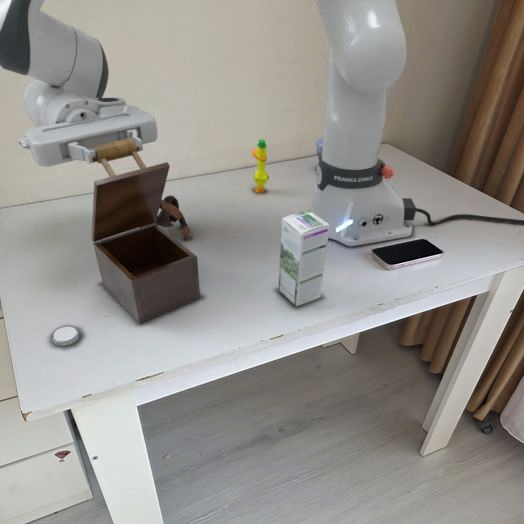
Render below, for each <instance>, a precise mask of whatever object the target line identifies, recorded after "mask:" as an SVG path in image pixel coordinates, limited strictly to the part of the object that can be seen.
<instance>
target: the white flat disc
mask: <svg viewBox="0 0 524 524" xmlns="http://www.w3.org/2000/svg"><path fill="white" fill-rule="evenodd" d="M79 338H80V331H79V329H78V328H77V327H75V326H74V325H73V326H72V325H65V326H64V325H63V326H61V327H58V328H56V329H55V330H54V331H53V332H52V333H51V339H52V342H53V343H54V344H55V345H56V346H69V345H72V344H74V343H76V342H77V341H78V340H79Z"/></svg>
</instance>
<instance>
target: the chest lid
mask: <svg viewBox="0 0 524 524" xmlns="http://www.w3.org/2000/svg"><path fill="white" fill-rule="evenodd" d="M93 149H95V150H96V152H97V157H98V161H97V162H96V163H97V164H101V165H102V166H103V169H104V170H105V172H106V174H107V175H108V177H105V178H101V179H98V180H94V183H93V197H92V199H93V201H92V218H91V219H92V220H91V235H90V236H91V237H90V238H91V241H92V243H95V242H98V241H101V240H104V239H107V238H110V237H113V236H116V235H119V234H122V233H125V232H129V231H132V230H135V229H138V228H139V227H142V226H145V225H148V224H151V223H154V222H156V219H157V216H158V215H159V210H160V203H161V199H162V200H163V196H164V191H165V187H166V183H167V179H168V175H169V171H170V164H169V162H168V161H166V162H162V163H158V164H154V165H151V166H146V163H144V161H143V159H142V158H141V156H140V155H139V152H137V147H136V144H135V142H134V140H133V139H132V138H129V139H124V140H120V141H116V142H111V143H107V144H102V145H98V146H94V147H93ZM128 157H132V158H133V160H134V162H135V163H136V165H137V166H138V167H139V169H135V170H131V171H128V172H127V171H126V172H123V173H120V174H116V173H115V171H114V170H113V168H112V166H111V165H110V164H109V162H113V161H116V160H119V159H120V160H121V159H124V158H128Z"/></svg>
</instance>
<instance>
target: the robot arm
mask: <svg viewBox="0 0 524 524" xmlns="http://www.w3.org/2000/svg"><path fill="white" fill-rule="evenodd" d="M45 1H46V0H0V67H1V69H3V70H6V71H9V72H12V73H15V74H18V75H22V76H27V77H30V78H32V79H34V81H32V82H30V83H29V84H28V85H27V86H25V88H24V91H23V94H22V105H23V107H24V111H25V113H26V115H27V118H28V119H29V120H30V122H31V123H32V124H33V125H34V126H35V127H33V128H29V129H28V130H26V131H25V135H23V136H24V137H19V138H18V141H17V142H18V144H19V146H20V147H22V148H23V149H26V150H29V151H30V154H31V156H32V159H33V160H34V161H35V162H36V164H37V165H39V166H40V167H53V166H56V165H57V166H58V165H61V164H66V163H70V162H73V161H81V162H86V163H87V164H94V163H97V161H98V157H97V152H96V150H95V149H93V147H94V146H98V145H102V144H107V143H111V142H116V141H120V140H124V139H129V138H132V139H133V140H134V142H135V144H136V147H137V153H139V152H143V151H144V146H143V145H146V144H150V143H153V142H156V141H157V140H158V135H159V132H158V124H157V120H156V118H155V117H154V116H153V115H152V114H151V113H148V111H145V110H143V109H141V108H139V107H137V106H134V105H130V104H127V101H126V99H124V98H122V97H104V95H105V93H106V89H107V87H108V86H107V85H108V81H109V73H110V71H109V70H110V69H109V64H108V63H109V62H108V59H107V56H106V53H105V50H104V47H103V46H102V44H101V42H100V41H99V40H98V39H97V38H96V37H94V36H92V35H90V34H88V33H86V32H84V31H82V30H81V29H79V28H76V27H74V26H72V25H69V24H67V23H65V22H63V21H62V20H60V19H57V18H55V16H54V17H53V16H52V15H50V14H48V13H46V12H44V11H42V10H41V9H42V7H43V5H44V3H45ZM315 3H316V6H317V9H318V13H319V15H320V18H321V21H322V24H323V27H324V30H325V33H326V35H327V39H328V42H329V44H330V47H329V61H328V75H327V89H326V91H327V92H326V111H325V120H324V121H325V122H324V129H323V130H324V131H323V138H324V139H323V148H322V154H321V155H320V157H318V165H317V168H316V191H315V194H314V197H313V201H312V205H311V208H310V211H311V212H312V213H313V214H315V215H316V216H318V217H319V218H321V219H322V220H323V221H325V222H326V223H328V224H329V225H330V227H329V236H328V239H330V240H334V241H337V242H339V243H341V244H343V245H345V246H347V247H356V246H363V245H368V244H373V243H380V242H386V241H390V240H391V241H392V240H397V239H402V238H408V237H410V236H411V235H412V233H413V223H412V222H411V221H414V220H415V216H416V213H420V214H422V215H425V216H426V219H427V223H428V224H429V225H431V226H437V225H440V224H443V223H446V222H448V221H450V220H453V219H459V218H460V219H462V218H463V219H477V220H483V221H484V220H485V221H492V222H493V221H494V222H502V223H503V222H505V223H514V224H524V219H516V218H507V217H497V216H485V215H477V214H468V213H467V214H466V213H463V214H461V213H459V214H453V215H449V216H447V217H444V218H443V219H441V220H439V221H432V218H431V217H432V216H431V214H430V213H429V212H428V211H427V210H425V209H422V208H418V207H416V205H415V202H414V200H413V199H412V198H411V197H410V198H409V197H402V195H401V194H400V193H399V191H398V190H397V189H396V188H395V187H394V186H393V185H392V184H391V183H389V181H387V180H391V179H392V178H393V177H394V175H395V174H394V173H395V172H394V170H393V168H392V167H391V166H389V165H386V163H385V162H384V161H383V160H382V159H380V158H379V155H380V152H381V151H380V150H381V146H382V141H383V135H384V131H385V124H386V118H387V117H386V116H387V115H386V106H387V92H388V89H389V88H391V87H392V86H393V85H394V84H395V83H396V82H397V81H398V79H399V78H401V75H402V73H403V72H404V69H405V66H406V63H407V54H408V48H407V39H406V38H407V37H406V35H405V30H404V27H403V24H402V20H401V17H400V13H399V9H398V7H397V2H396V0H315Z"/></svg>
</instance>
